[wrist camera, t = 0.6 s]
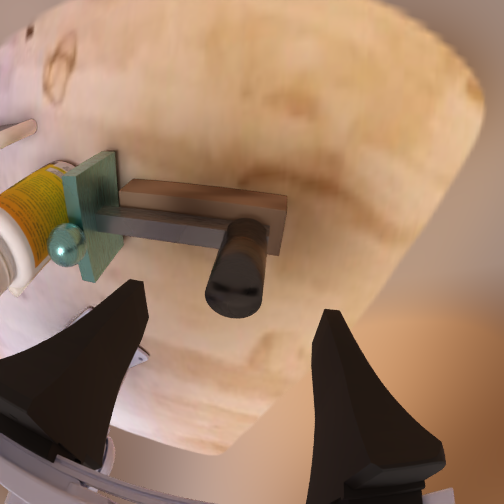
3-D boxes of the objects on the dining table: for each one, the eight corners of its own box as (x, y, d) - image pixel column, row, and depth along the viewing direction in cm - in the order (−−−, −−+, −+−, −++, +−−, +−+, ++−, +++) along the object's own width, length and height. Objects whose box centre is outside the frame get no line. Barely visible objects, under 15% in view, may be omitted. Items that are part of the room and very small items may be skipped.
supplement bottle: (56, 143, 18) (-51, 208, 9) (108, 191, 20) (14, 281, 11) (33, 195, 20) (-52, 267, 12) (78, 238, 22) (3, 326, 14)
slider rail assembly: (278, 165, 17) (273, 228, 11) (263, 265, 21) (252, 353, 15) (93, 151, 17) (17, 199, 11) (104, 241, 21) (51, 308, 15)
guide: (286, 196, 19) (286, 210, 17) (279, 238, 20) (279, 255, 19) (133, 178, 19) (118, 191, 17) (135, 219, 21) (123, 233, 19)
